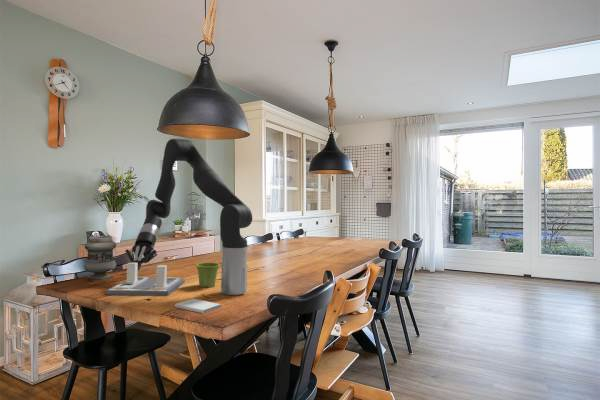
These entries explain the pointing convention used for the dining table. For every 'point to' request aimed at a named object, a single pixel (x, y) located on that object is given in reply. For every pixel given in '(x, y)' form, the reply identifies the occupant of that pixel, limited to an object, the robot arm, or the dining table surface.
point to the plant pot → (207, 274)
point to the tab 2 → (161, 276)
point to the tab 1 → (132, 273)
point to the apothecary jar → (100, 257)
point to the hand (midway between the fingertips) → (134, 270)
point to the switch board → (146, 287)
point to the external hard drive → (198, 305)
